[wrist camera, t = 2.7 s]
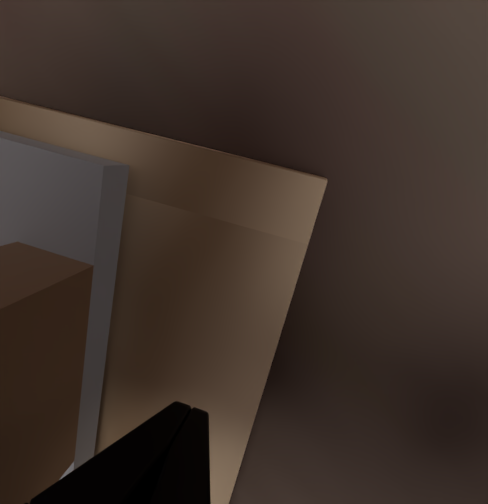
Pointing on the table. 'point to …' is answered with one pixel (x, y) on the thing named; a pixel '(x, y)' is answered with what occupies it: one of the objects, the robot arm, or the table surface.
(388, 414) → the table surface
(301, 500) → the table surface
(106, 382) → the puzzle board
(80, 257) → the sliding lid
